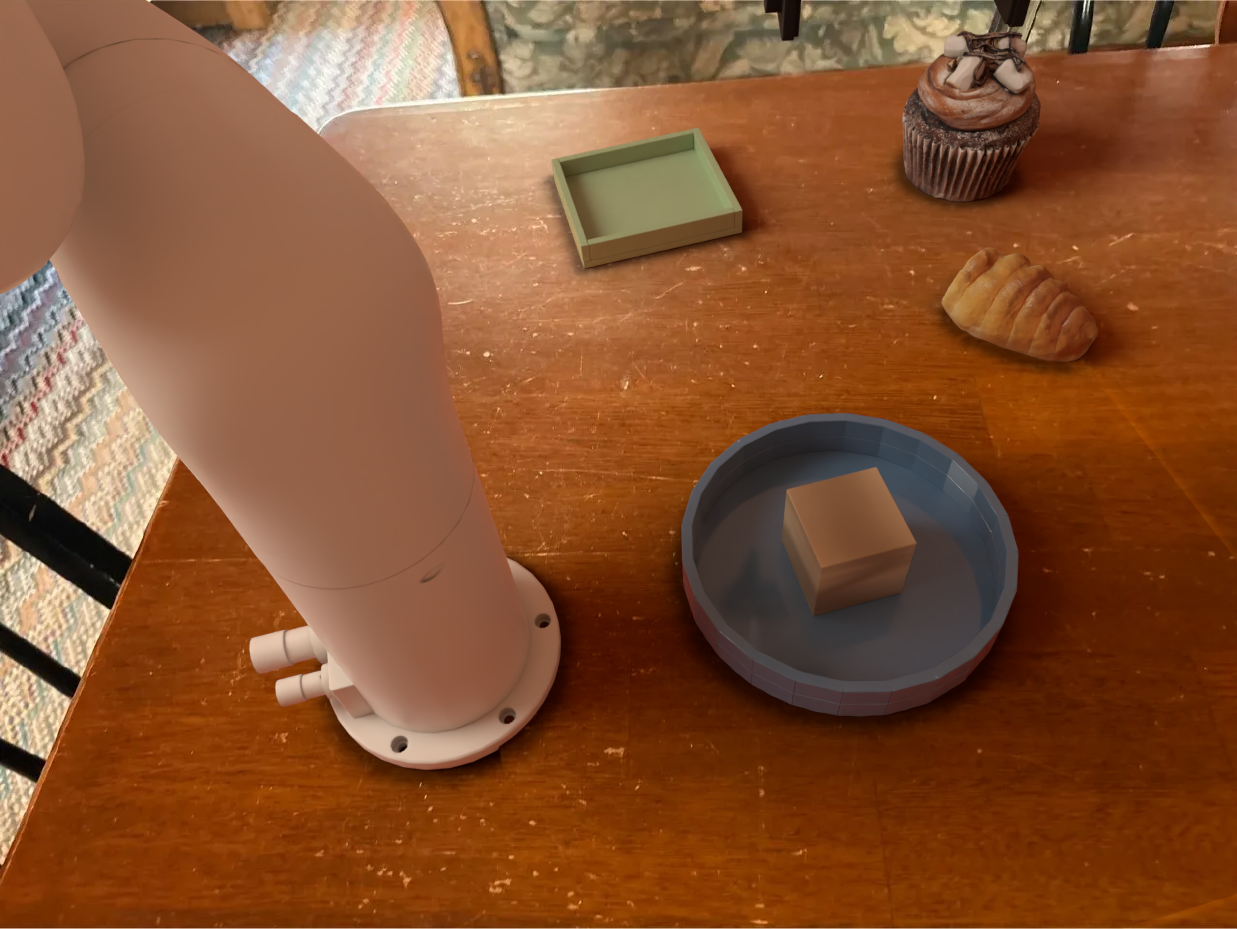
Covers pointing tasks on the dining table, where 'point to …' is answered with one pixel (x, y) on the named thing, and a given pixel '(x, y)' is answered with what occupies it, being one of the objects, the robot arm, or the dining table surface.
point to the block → (846, 540)
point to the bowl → (864, 633)
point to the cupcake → (970, 117)
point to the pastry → (1019, 307)
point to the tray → (645, 197)
